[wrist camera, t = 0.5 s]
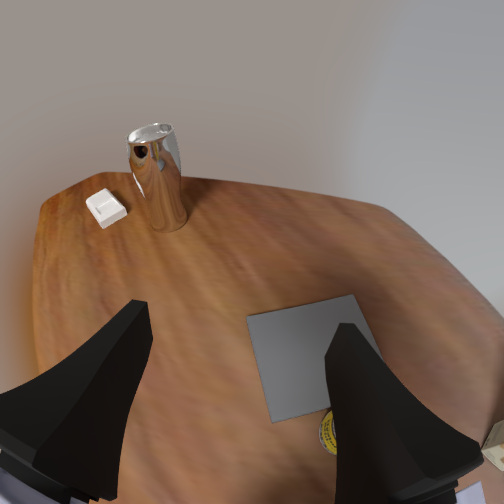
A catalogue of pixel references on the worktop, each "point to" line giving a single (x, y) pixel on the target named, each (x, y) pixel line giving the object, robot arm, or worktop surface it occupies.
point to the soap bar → (105, 208)
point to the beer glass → (158, 174)
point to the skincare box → (495, 445)
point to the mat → (300, 353)
